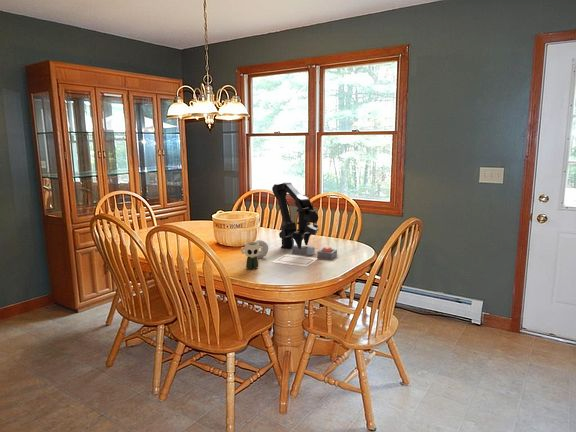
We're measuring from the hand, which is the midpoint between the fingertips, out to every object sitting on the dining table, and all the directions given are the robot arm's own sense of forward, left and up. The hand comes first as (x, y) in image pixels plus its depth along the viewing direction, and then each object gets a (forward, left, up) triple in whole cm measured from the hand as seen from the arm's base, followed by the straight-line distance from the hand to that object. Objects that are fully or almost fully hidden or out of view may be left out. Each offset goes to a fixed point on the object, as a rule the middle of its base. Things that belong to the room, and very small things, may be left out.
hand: (303, 247), depth 244 cm
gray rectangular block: (0, 0, -4) cm, 4 cm away
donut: (-18, -19, -4) cm, 26 cm away
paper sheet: (+2, -15, -4) cm, 16 cm away
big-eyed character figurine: (-12, -37, -4) cm, 39 cm away
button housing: (+15, -1, -4) cm, 16 cm away
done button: (+15, -1, -2) cm, 15 cm away
